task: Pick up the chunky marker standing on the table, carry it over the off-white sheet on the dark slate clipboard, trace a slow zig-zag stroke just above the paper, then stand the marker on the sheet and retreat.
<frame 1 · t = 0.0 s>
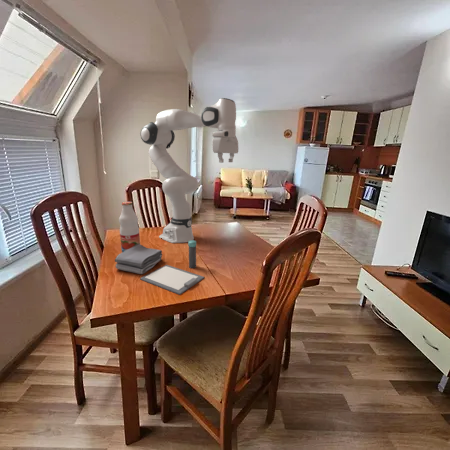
hand: (226, 162, 128), 48 cm above the table, fingers open, 8 cm apart
marker: (192, 266, 118), on the table
clipboard: (172, 278, 107), on the table
fruit juice: (131, 254, 131), on the table
towel: (140, 265, 119), on the table
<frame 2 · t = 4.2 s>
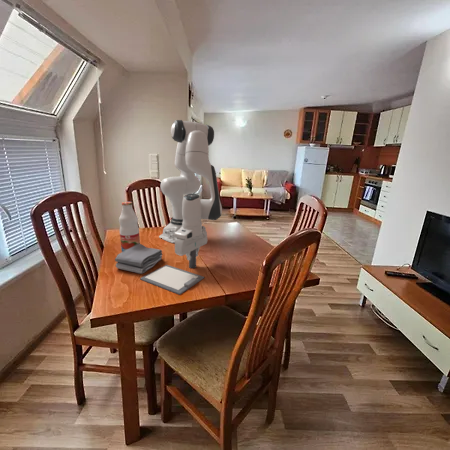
hand: (192, 257, 117), 5 cm above the table, fingers closed on marker, 3 cm apart
marker: (192, 266, 118), on the table, touching gripper
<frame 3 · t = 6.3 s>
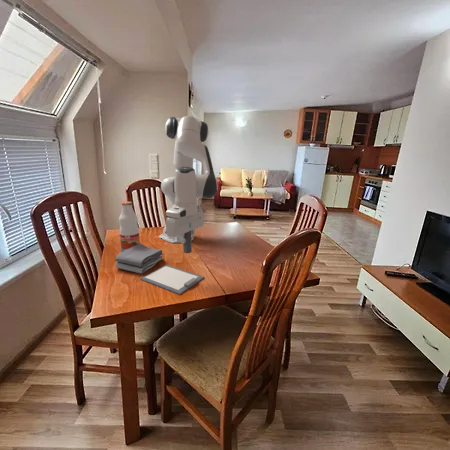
hand: (187, 241, 103), 17 cm above the table, fingers closed on marker, 3 cm apart
marker: (187, 251, 104), point 12 cm above the table, touching gripper
everything else where it was.
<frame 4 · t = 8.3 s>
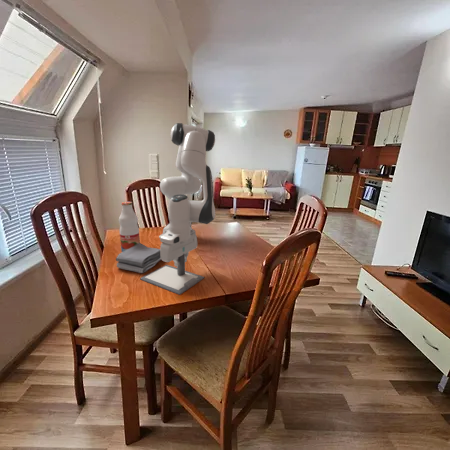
hand: (180, 263, 108), 6 cm above the table, fingers closed on marker, 3 cm apart
marker: (181, 273, 109), point 1 cm above the table, touching gripper
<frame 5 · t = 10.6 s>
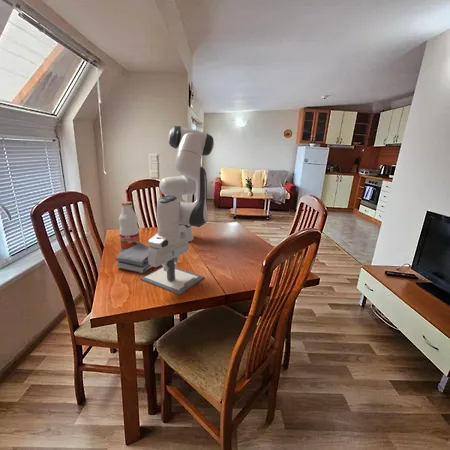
hand: (170, 268, 103), 6 cm above the table, fingers closed on marker, 3 cm apart
marker: (171, 278, 104), point 1 cm above the table, touching gripper
when the fingers open (6 cm above the table, at t = 12.7 s): marker stays where it is, resting on clipboard.
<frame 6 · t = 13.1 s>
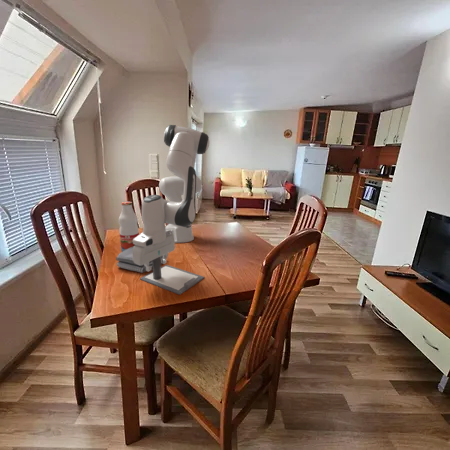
hand: (156, 266, 104), 6 cm above the table, fingers open, 7 cm apart
marker: (157, 277, 106), point 1 cm above the table, touching clipboard
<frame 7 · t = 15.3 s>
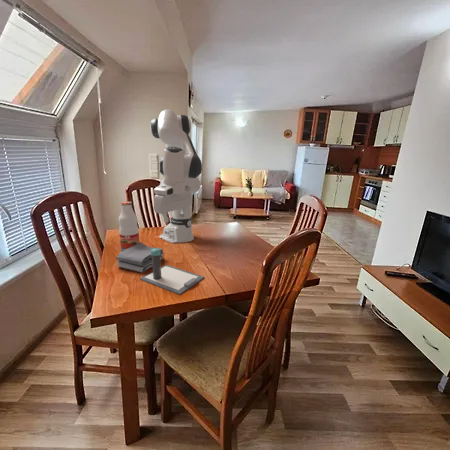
hand: (174, 219, 108), 24 cm above the table, fingers open, 8 cm apart
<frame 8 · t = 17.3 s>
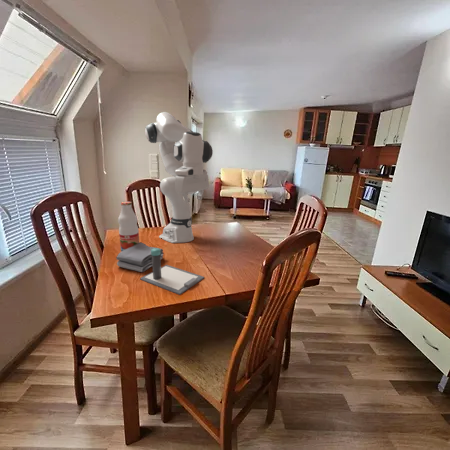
hand: (193, 200, 114), 31 cm above the table, fingers open, 8 cm apart
at the end: marker inside the target area on the clipboard (5.9 cm from its centre), point 0.8 cm above the clipboard's base; marker tilted 1°; the gripper is holding nothing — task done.
